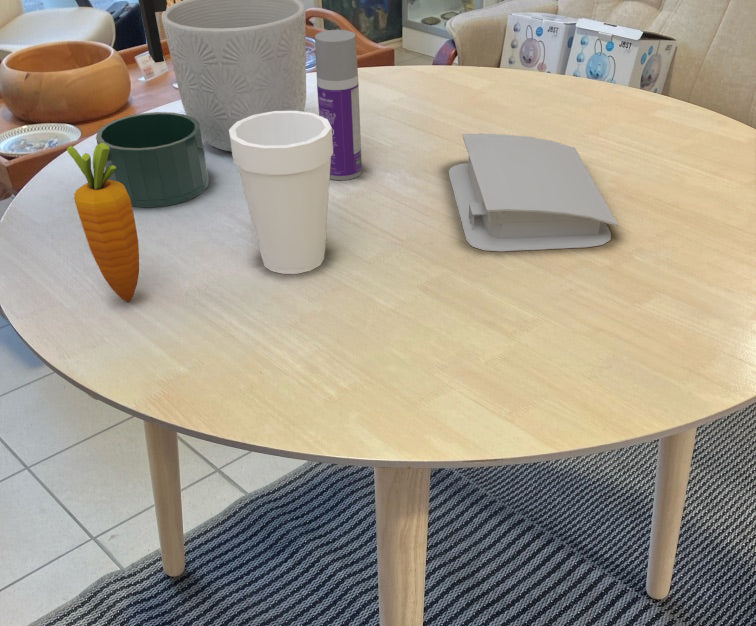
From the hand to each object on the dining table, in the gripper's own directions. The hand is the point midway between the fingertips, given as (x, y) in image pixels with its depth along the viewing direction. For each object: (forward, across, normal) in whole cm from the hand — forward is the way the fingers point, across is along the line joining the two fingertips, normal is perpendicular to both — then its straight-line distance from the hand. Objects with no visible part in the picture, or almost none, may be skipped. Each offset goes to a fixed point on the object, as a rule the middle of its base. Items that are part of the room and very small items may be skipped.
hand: (72, 70), depth 68 cm
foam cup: (+21, +17, +2) cm, 27 cm away
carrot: (+21, 0, 0) cm, 21 cm away
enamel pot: (+20, +8, +26) cm, 34 cm away
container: (+21, +29, +20) cm, 41 cm away
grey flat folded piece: (+21, +45, +4) cm, 50 cm away
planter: (+21, +21, +35) cm, 46 cm away
